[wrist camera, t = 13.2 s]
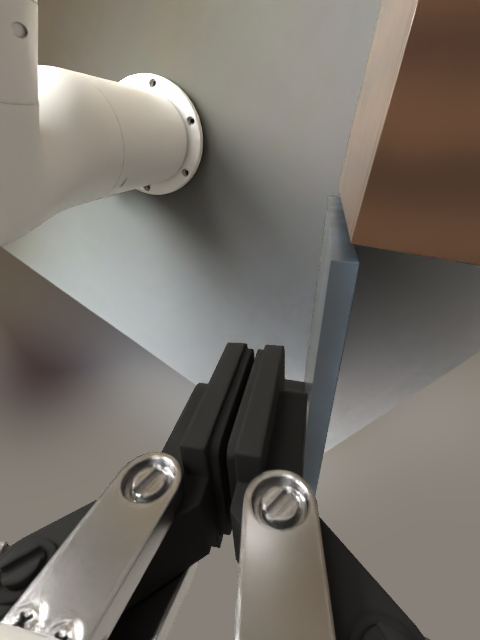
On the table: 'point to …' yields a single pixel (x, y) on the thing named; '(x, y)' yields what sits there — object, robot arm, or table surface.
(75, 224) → the table surface
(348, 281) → the door
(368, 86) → the cupboard
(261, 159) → the table surface
